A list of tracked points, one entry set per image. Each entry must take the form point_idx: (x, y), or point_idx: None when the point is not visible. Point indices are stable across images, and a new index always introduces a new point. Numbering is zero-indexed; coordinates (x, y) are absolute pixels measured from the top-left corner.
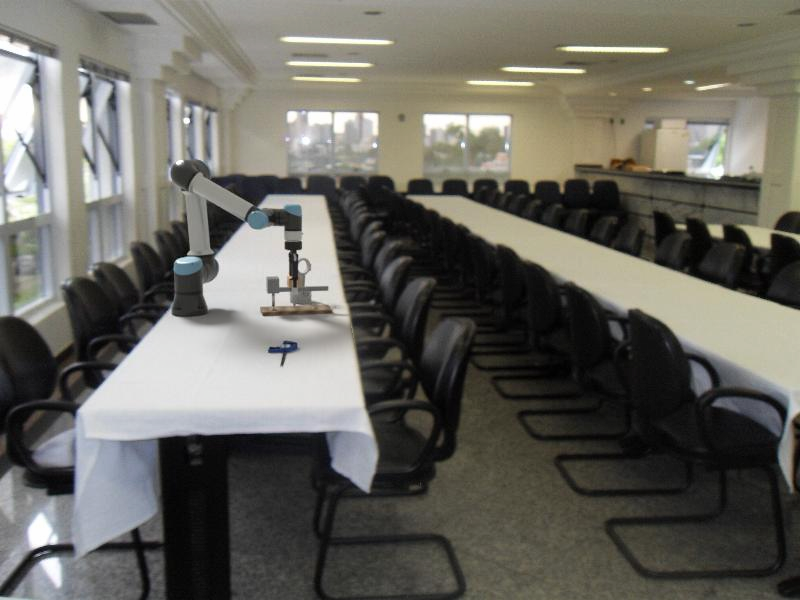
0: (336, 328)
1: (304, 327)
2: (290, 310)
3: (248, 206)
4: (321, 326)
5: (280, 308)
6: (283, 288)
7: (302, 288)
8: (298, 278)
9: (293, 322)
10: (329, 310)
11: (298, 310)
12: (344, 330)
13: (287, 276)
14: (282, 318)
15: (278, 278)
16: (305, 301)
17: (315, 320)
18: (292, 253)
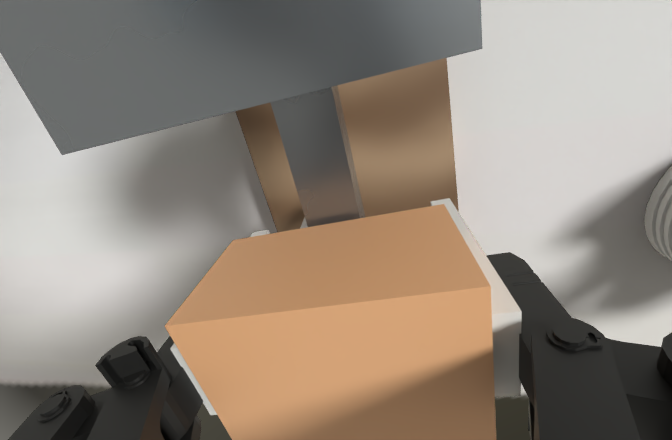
0: (53, 362)
1: (6, 258)
2: (284, 174)
3: None
4: (59, 318)
5: (349, 92)
6: (291, 164)
7: None
8: (237, 438)
9: (79, 204)
10: None
11: (292, 223)
12: (37, 381)
13: (447, 297)
14: (152, 132)
15: (124, 126)
16: (657, 240)
17: (160, 296)
18: None
